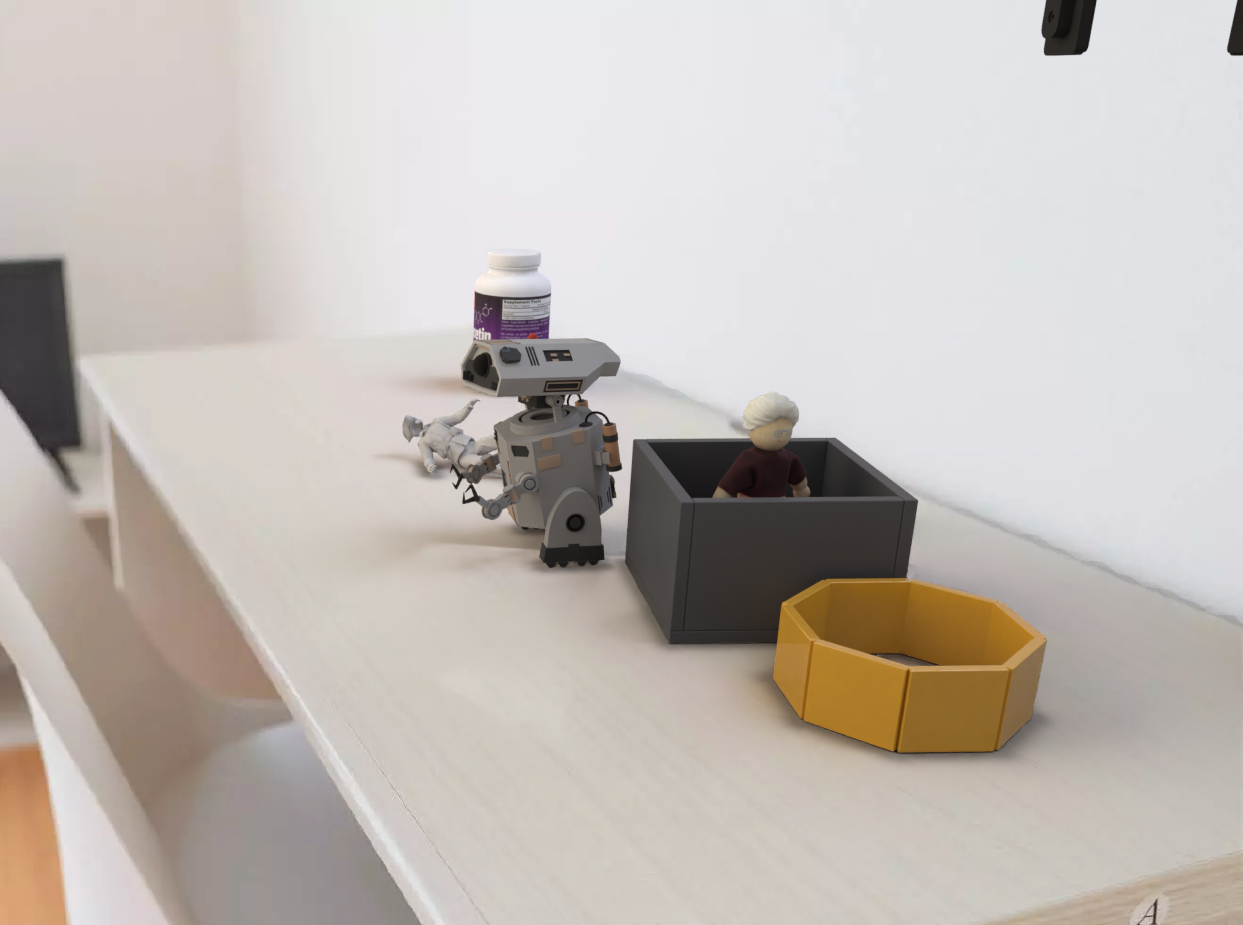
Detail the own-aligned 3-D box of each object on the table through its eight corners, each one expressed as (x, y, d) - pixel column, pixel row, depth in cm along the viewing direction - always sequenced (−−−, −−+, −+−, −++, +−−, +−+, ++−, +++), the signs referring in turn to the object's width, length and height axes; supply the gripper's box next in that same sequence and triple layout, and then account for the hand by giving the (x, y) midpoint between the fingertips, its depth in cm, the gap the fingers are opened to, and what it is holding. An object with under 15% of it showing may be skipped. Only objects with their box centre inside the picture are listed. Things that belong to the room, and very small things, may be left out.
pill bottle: (466, 380, 141) (469, 247, 136) (538, 379, 142) (543, 246, 137) (478, 397, 134) (481, 257, 128) (554, 395, 134) (560, 256, 129)
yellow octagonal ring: (960, 648, 75) (972, 577, 73) (1068, 751, 63) (1085, 669, 62) (753, 650, 74) (761, 579, 73) (824, 754, 63) (835, 671, 61)
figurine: (438, 530, 94) (441, 327, 89) (589, 523, 96) (600, 323, 91) (461, 574, 86) (465, 353, 81) (626, 566, 87) (641, 348, 82)
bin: (820, 560, 88) (835, 437, 85) (897, 641, 76) (918, 500, 73) (624, 562, 88) (633, 438, 85) (668, 643, 75) (680, 502, 72)
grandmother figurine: (739, 610, 78) (760, 407, 74) (690, 591, 81) (708, 395, 76) (816, 582, 82) (841, 389, 78) (767, 566, 85) (788, 378, 81)
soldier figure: (495, 502, 104) (373, 439, 108) (500, 525, 108) (383, 464, 112) (544, 426, 106) (422, 367, 109) (547, 452, 110) (430, 394, 114)
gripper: (1360, -319, 63) (1275, 56, 69) (1012, -321, 62) (957, 56, 68) (1486, -369, 56) (1378, 53, 62) (1095, -372, 55) (1026, 53, 61)
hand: (1157, 54), depth 65 cm, fingers open, 9 cm apart
